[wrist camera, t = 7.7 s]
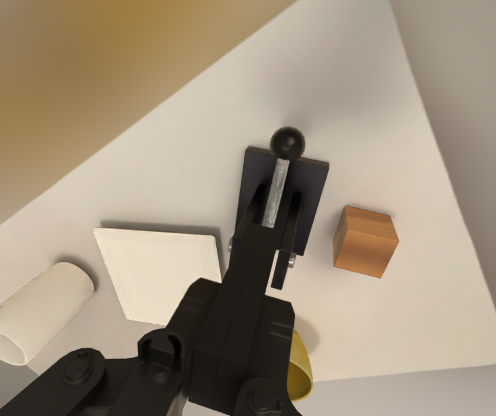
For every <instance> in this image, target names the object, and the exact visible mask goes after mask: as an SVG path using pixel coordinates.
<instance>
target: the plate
mask: <svg viewBox="0 0 496 416" xmlns="http://www.w3.org/2000/svg"><path fill="white" fill-rule="evenodd" d="M92 231H93V233H94V236H95V239H96V241H97V244H98V247H99V249H100V252H101V254H102V257H103V260H104V262H105V265H106V267H107V270H108V273H109V275H110V278H111V280H112V283H113V286H114V288H115V291H116V293H117V296H118V299H119V301H120V304H121V306H122V309H123V312H124V314H125V317H126V319H128V320H133V321H140V322H146V323H153V324H159V325H166V326H167V324H168V322H169V321H170V319H171V317H172V315H173V314H174V312H175V310H176V308H177V307H178V305H179V303H180V301H181V300H182V298H183V297H184V294H185V293H186V291H187V289H188V288H189V286H190V285H191V284H192V283H193V282H195V281H196V280H197V279H199V278H200V277H201V278H205V279H208V280H212V281H215V282H219V283H222V280H221V274H220V267H219V261H218V255H217V248H216V242H215V237H214V236H212V235H200V234H186V233H171V232H157V231H142V230H128V229H113V228H99V227H93V228H92Z"/></svg>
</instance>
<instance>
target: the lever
mask: <svg viewBox="0 0 496 416" xmlns="http://www.w3.org/2000/svg"><path fill="white" fill-rule="evenodd" d="M270 150H271V153H272V154H273V156H274V157H275V158H276V159H277V163H276V168H275V172H274V176H273V180H272V184H271V188H270V193H269V197H268V201H267V205H266V209H265V213H264V218H263V222H262V226H266V227H270V228H274V226H275V222H276V218H277V213H278V209H279V205H280V201H281V197H282V193H283V188H284V184H285V180H286V176H287V172H288V167H289V163H290V162H293V161H296V160H297V159H299V158H300V157H301V155H302V154H303V152H304V150H305V138H304V136H303V134H302V133H301V132H300V131H299V130H298V129H296V128H294V127H283V128H280V129H278V130H277V131H276V132H275V133H274V134H273V136H272V138H271V140H270Z"/></svg>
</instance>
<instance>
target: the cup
mask: <svg viewBox="0 0 496 416" xmlns="http://www.w3.org/2000/svg"><path fill="white" fill-rule="evenodd" d="M93 292H94V286H93V283H92V280H91V279H90V277H89V276H88V275H87V274H86V273H85V272H84V271H83V270H81V269H80V268H79V267H77V266H75V265H73V264H71V263H67V262H60V263H57V264H55V265H53V266H52V267H51V268H49V269H48V270H46V271H45V272H43V273H42V274H41V275H39V276H38V277H36V278H35V279H34V280H32V281H31V282H30V283H28V284H27V285H26V286H24V287H23V288H22V289H21V290H19V291H18V292H17V293H15V294H14V295H13V296H12V297H10V298H9V299H8V300H7V301H6V302H4V303H3V304H2V305H1V306H0V360H2V361H4V362H6V363H9V364H12V365H17V366H20V365H25V364H27V363H29V362H30V361H31V360H32V359H33V358H34V357H35V356H36V355H37V354H38V353H39V352H40V351H42V350H43V349H44V348H45V347H46V346H47V345H48V344H49V343H50V342H51V341H52V340H53V339H54V338H55V337H56V336H57V335H58V334H59V332H60V331H61V330H62V329H63V328H64V327H65V326H66V325H67V324H68V323H69V321H70V320H71V319H72V318H73V317H74V316H75V315H76V314H77V312H78V311H79V310H80V309H81V308H82V306H83V305H84V304H85V303H86V302H87V300H88V299H89V298H90V297H91V295H92V294H93Z"/></svg>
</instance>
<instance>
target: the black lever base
mask: <svg viewBox="0 0 496 416" xmlns="http://www.w3.org/2000/svg"><path fill="white" fill-rule="evenodd" d="M276 163H277V159H276V158H275V157H274V156H273V154H272V153H271V151H268V150H263V149H259V148H254V147H248V148H247V149H246V150H245V158H244V165H243V173H242V180H241V188H240V195H239V203H238V210H237V217H236V225H235V232H234V235H233V237H231V239H230V242H229V246H228V251H229V252H231V253H230V261H229V265H230V263H231V261H232V259H233V256H234V254H235V252H236V250H237V247H238V245H239V243H240V241H241V238H242V236H243V234H244V232H245V229H246V227H247V225H248V223H249V222H250V223H254V224H258V225H262V222H263V218H264V213H265V209H266V205H267V201H268V197H269V193H270V188H271V184H272V180H273V176H274V172H275V168H276ZM328 170H329V163H325V162H321V161H316V160H311V159H306V158H302V157H300V158H299V159H297V160H296V161H293V162H290V163H289V167H288V172H287V176H286V180H285V184H284V188H283V193H282V197H281V201H280V205H279V209H278V213H277V218H276V222H275V226H274V229H277V230H281V232H280V236H279V240H278V244H277V248H276V249H277V250H279V254H278V258H277V263H276V267H275V271H274V275H273V279H272V284H271V287H272V288H275V289H279V290H282V287H283V283H284V280H285V276H286V272H287V269H288V267H290V268H293V266H294V262H295V258H296V255H300V256H303V255H304V251H305V248H306V245H307V241H308V238H309V234H310V231H311V228H312V224H313V221H314V217H315V214H316V211H317V207H318V204H319V201H320V197H321V194H322V190H323V187H324V184H325V180H326V177H327V173H328Z"/></svg>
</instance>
